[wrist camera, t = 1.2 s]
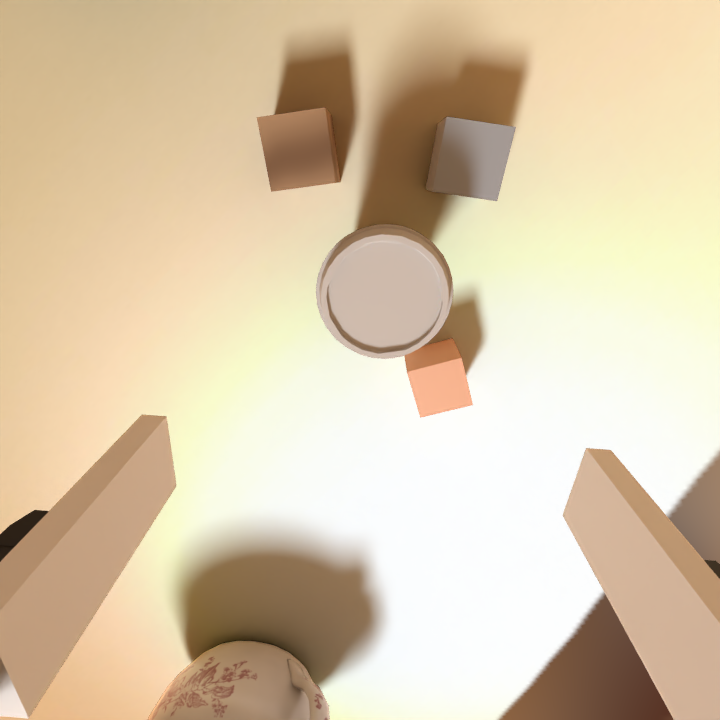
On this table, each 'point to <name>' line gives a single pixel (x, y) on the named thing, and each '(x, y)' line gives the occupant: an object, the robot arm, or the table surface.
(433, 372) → the terracotta cube
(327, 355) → the table surface
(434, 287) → the disposable coffee cup
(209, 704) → the chamber pot
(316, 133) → the walnut cube
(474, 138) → the slate grey cube
